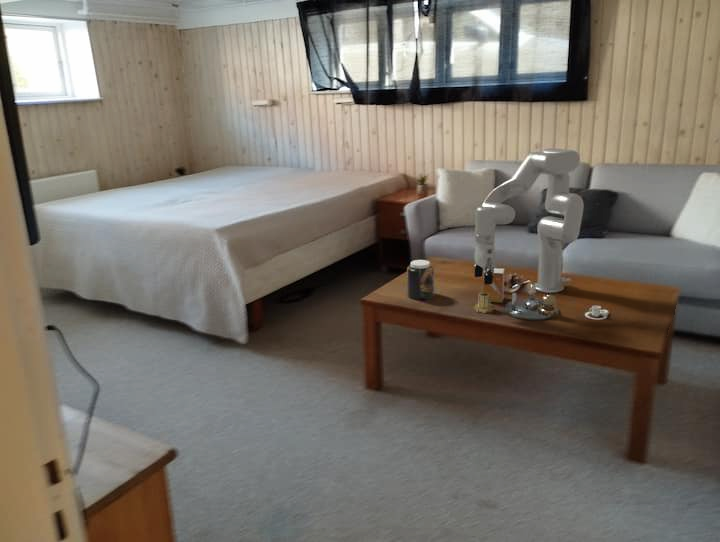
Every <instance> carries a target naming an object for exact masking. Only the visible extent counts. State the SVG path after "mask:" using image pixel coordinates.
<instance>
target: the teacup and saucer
mask: <svg viewBox="0 0 720 542" xmlns="http://www.w3.org/2000/svg"><path fill="white" fill-rule="evenodd" d="M609 313H610V312H609V310H607V309H602V307H601V306H600V305H592V306H591V307H590V308H589V310H588V311H587V312H585V313H584V316H585V317H586V318H588V319H592V320H596V321H597V320H598V321H600V320H605V319H607V317H608V315H609ZM589 314H591V316H593V317H591V316H589ZM599 316H602V317H600V318H597V317H599Z"/></svg>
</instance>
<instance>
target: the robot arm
mask: <svg viewBox="0 0 720 542" xmlns="http://www.w3.org/2000/svg"><path fill="white" fill-rule="evenodd" d="M580 164H581V156H580V154H579V153H578V152H577V151H576V150H572V149H563V148H553V147H551V148H549V147H548V148H543V149H542V150H541V151H532V152H531V151H530V153H528V154H526V156H525V157H524V159H523V160H522V162H521V163H520V165H519V166H518V167H517V169H516V170H515V172H514V173H513V175H512V177H511V178H510V179H508V180H507V181H504V182H503V183H501V184H500V185H499V186H497V187H496V188H494V189H493V190H492V191H491V192H490V193H489V194H488V195H487V196H486V197H485V199H484V201H483V203H482V204H481V206H478V207H477V208H476V209H475V225H474V229H475V230H474V243H475V247H474V255H473V258H474V261H473V262H474V265H473V266H474V277H475V278H481V277H482V278H483V276H484V271H483V270H485V277H484V284H485V285H487V284H492V283H493V272H494V268H496V248H495V247H496V246H495V241H496V240H495V239H496V225H507V224H511V223H512V222H513V221H514V220H515V217H516V211H515V209H514V207H512V206H511V205H508V204H503V202H504V201H506V200H507V199H510V198H513V197H516V196H520V195H523V194H526V193H528V192H529V191H530V190H531V188H532V187H533V186H534V184H535V182H536V181H537V179H538V178H539V176H540V175H547V178H548V179H547V181H548V182H547V188H546V189H547V190H546V195H545V202H544V208H545V210H546V211H547V212H548V213H550V214H553V215H558V216H563V218H562V217H557V216H556V217H555V216H544V217H542V218H540V220H539V221H538V223H537V235H538V261H537V262H538V263H537V282H535V283H533V284H534V285H535V290H536V291H538V292H543V293H549V294H551V293H560V292H562V291H563V290H564V289H565V286H564V284H569V283H571V282H572V279H571V278H568V277H567V278H566V277H561V276H562V260H563V245H562V243H563V244H573V243H575V242H576V241H577V239H578V238H579V235H580V231H581V225H582V219H583V212H584V208H585V207H584V206H585V205H584V204H585V203H584V200H583V198H582V197H581V195H579V194H577V193H572V192H570V182H571V179H570V174H569V173H572V172H574V171H576V170H577V168H578V167H579V165H580ZM487 269H489V270H488V271H487Z"/></svg>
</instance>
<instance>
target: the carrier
mask: <svg viewBox="0 0 720 542" xmlns="http://www.w3.org/2000/svg"><path fill="white" fill-rule="evenodd" d="M534 284H535V283H533V284H532V283H531V284H530V293H529V294H530V295H529V296H530V298H518V299H517V293H516V292H512V293H511V301H508V302H507V303H506V304H505V309H504V310H505V313H507V314H508V315H509V316H511V317H514V318H516V319H520V320H526V321H546V320H549V319H553V318H555V317H556V316H558V314H559V312H560V309H559V308H558V306H557V305H556V296H555V295H553V294H544V295H542V299H539V298H538V299H536V298H535V295H536V293H535V292H536V291H535V290H536V289H535V285H534Z"/></svg>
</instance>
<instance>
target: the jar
mask: <svg viewBox="0 0 720 542" xmlns="http://www.w3.org/2000/svg"><path fill="white" fill-rule="evenodd" d="M430 262H431V261H429V260H425V259H415V260H412V261H411V262H410V264H409V265H408V266H407V268H406V292H407V294H406V295H407V297H408V298H409V299H411V300H415V301H427V300H430V299H433V298H434V297H435V270H434V266H433V265H431V263H430Z"/></svg>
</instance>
